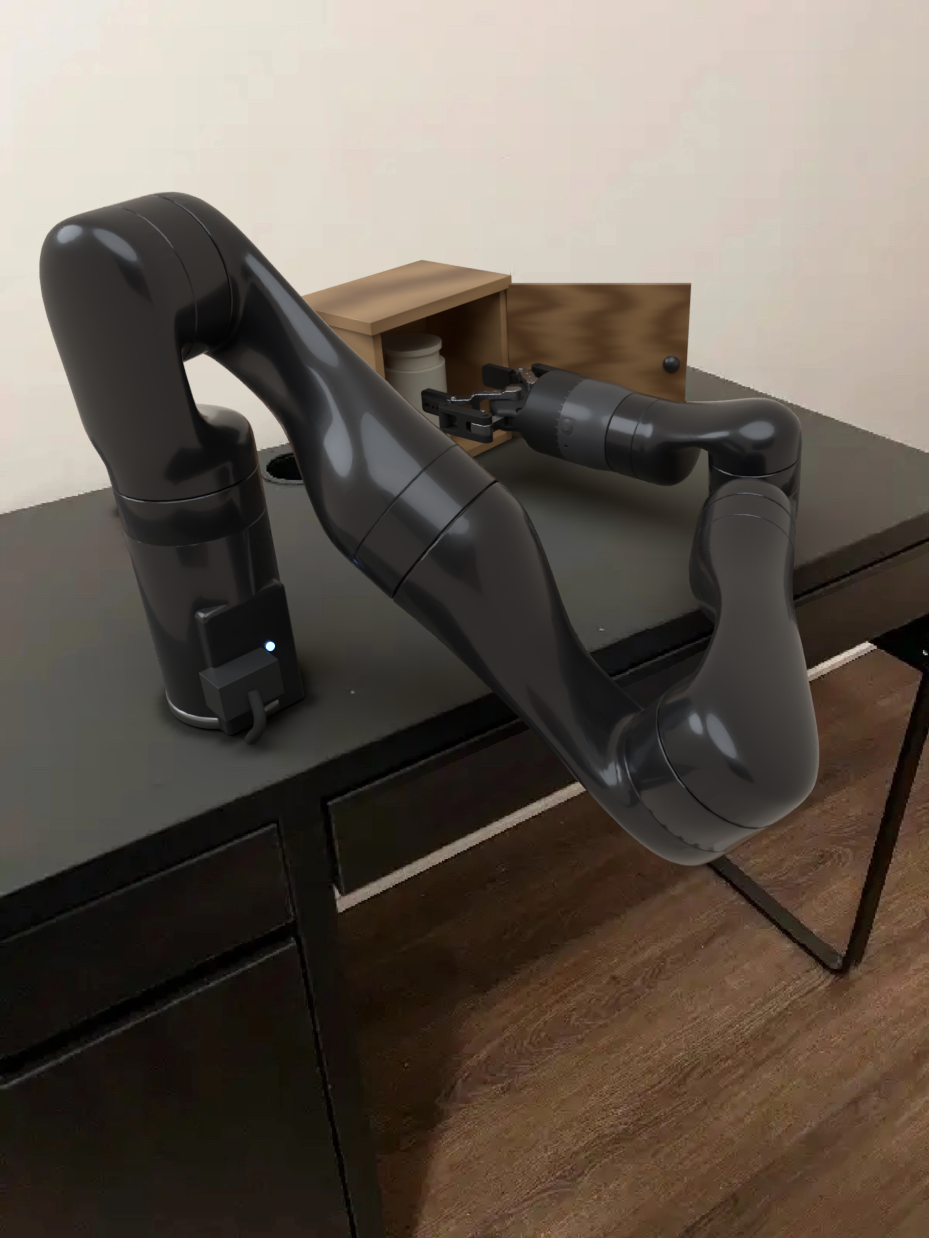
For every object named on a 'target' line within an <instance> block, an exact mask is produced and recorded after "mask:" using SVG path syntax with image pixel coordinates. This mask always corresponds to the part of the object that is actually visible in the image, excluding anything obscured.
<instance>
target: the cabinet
mask: <svg viewBox="0 0 929 1238" xmlns="http://www.w3.org/2000/svg"><path fill="white" fill-rule="evenodd" d="M512 279H513V278H512V274H508V273H507V274H506V273H501V272H496V271H490V270H484V269H478V268H472V267H466V266H461V265H454V264H450V263H449V264H448V263H443V262H437V261H431V260H425V259H420V260H417V261H413V262H410V263H407V264H403V265H400V266H397V267H394V268H390V269H387V270H383V271H380V272H376V273H373V274H370V275H367V276H364V277H360V278H356V279H353V280H350V281H347V282H344V283H340V284H337V285H334V286H330V287H327V288H324V289H321V290H317V291H314V292H310V293H307V294H304V295H300V296H301V297H302V298H303V299H304V300H305V301H306V302H307V303H308V304H309V305H310V306H311V308H312V309H313V310H314V311H315V312H316V313H317V314H318V315H319V316H320V317H321V318H322V319H323V320H324V322H325V323H326V324H327V325H328V326H329V327H330V328H331V329H332V330H333V331H334V332H335V333H336V334H337V335H338V336H339V337H340V338H341V339H342V340H343V341H344V342H345V343H347V344H348V345H349V346H350V347H351V348H352V349H353V350H354V351H355V352H356V353H357V354H358V355H359V356H360V357H362V358H363V359H364V360H365V361H366V362H367V363H368V364H369V365H370V366H371V367H372V368H374V369H375V370H376V371H377V372H378V373H379V374H380V375H381V376H382V377H383V378H384V379H385V372H384V363H383V361H385V360H386V354H384V353H383V351H382V344H381V338H383V337H386V336H393V337H394V336H398V335H404V334H412V333H424V334H432V335H436V336H438V337H440V338H441V340H442V347H441V349H440V350H439V352H440V355H441V356H443V357H444V359H445V366H446V379H447V393H448V394H452V395H455V396H457V395H472V394H473V392H474V391H475V390H495V389H494V388H490V387H486V386H484V384H483V382H482V366H483V365H485V364H488V363H491V364H495V365H499V366H503V367H507V368H511V369H514V370H515V368H518V367H525V368H527V370H530V369H531V365H532V364H535V363H541V364H545V365H549V366H553V367H556V368H560V369H564V370H567V371H571V372H575V373H578V374H580V375H582V376H586V377H590V378H594V379H598V380H603V381H607V382H611V383H616V384H619V385H622V386H625V387H627V388H629V389H632V390H634V391H637V392H640V393H644V394H648V395H652V396H656V397H660V398H665V399H670V400H673V401H681V402H686V392H687V391H686V388H687V373H688V372H687V370H688V355H689V354H688V353H689V338H690V337H689V336H690V318H691V317H690V316H691V299H692V282H512V281H513V280H512ZM543 375H544V374H543ZM488 401H489V400H482V401H481V405H482V409H483V410H485V412H487V413H489V402H488ZM460 406H463V407H467V408H471V409H472V406H471V405H460ZM451 438H452V439H453V440H454V441H455V442H456V443H458V444H459V446H461V447H462V448H463V449H464V450H466V451H467V452H468V453H469V454H470V455H471V456H472V457H473V458H475V457H476V456H478V455H480V454H482V453H484V452H486V451H488V450H491V449H493V448H495V447H497V446H499V445H501V444H503V443H505V442H507V441H509V440H511V439H513V432H506V431H503V430H500V429H499V430H497V431H495V432H493V442H492V443H488V444H484V443H480V442H476V441H472V440H469V439H465V438H461V437H457V436H454V435H451Z"/></svg>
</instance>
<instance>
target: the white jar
mask: <svg viewBox="0 0 929 1238" xmlns="http://www.w3.org/2000/svg"><path fill="white" fill-rule="evenodd" d="M381 344H382V351H383V353H384V354H386V360H385V361H383V363H384V372H385V380H386V381H387V382H388V383H389V384H391V385H392V386H393V387H394V388H395V389H396V390H397V391H398V392H399V393H400V394H401V395H402V396H403V397H404V398H405V399H406V400H407V401H409V402H410V403H411V404H412V405H413V406H414V407H415V408H416V409H417V410H418V411H420V412H421V413H422V414H423V415H424V416H425V417H426V418H428V419H429V420H430V421H431V422H432V423H433V424H435V425H436V426H437V427H438V428H440V427H439V416H436V415H433V414H429V413H426V412H424V411H423V409H422V401H421V391H422V390H425V389H427V388H430V389H434V390H438V391H441V392H445V393H447V379H446V366H445V359H444V357H443V356H441V355H440V352H439V350H440V349H441V347H442V340H441V338H440V337H438V336H436V335H432V334H424V333H412V334H404V335H398V336H394V337H393V336H386V337H383V338H381ZM447 435H448V436H449V437H451V435H450V434H447Z"/></svg>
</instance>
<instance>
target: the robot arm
mask: <svg viewBox="0 0 929 1238" xmlns="http://www.w3.org/2000/svg"><path fill="white" fill-rule="evenodd" d="M38 263H39V264H38V270H39V271H38V275H39V277H38V278H39V285H40V293H41V298H42V303H43V307H44V310H45V314H46V315H45V316H46V318H47V322H48V325H49V328H50V332H51V334H52V338H53V341H54V344H55V347H56V349H57V352H58V355H59V358H60V361H61V364H62V367H63V370H64V372H65V376H66V379H67V381H68V384H69V385H68V386H69V388H70V391H71V394H72V396H73V399H74V402H75V406H76V409H77V412H78V415H79V419H80V421H81V424H82V426H83V429H84V431H85V434H86V435H87V438H88V439H89V441H90V443H91V445H92V446H93V448H94V450H95V451H96V453H97V455H98V456H99V458H100V459H101V461H102V463H103V464H104V466H105V469H106V472H107V475H108V479H109V483H110V485H111V489H112V491H113V492H112V493H113V497H114V500H115V504H116V507H117V508H116V509H117V511H118V515H119V518H120V522H121V526H122V530H123V534H124V539H125V542H126V544H127V549H128V554H129V557H130V561H131V564H132V568H133V572H134V577H135V579H136V584H137V587H138V591H139V593H140V594H139V595H140V598H141V602H142V606H143V609H144V613H145V617H146V622H147V624H148V628H149V633H150V636H151V641H152V643H153V648H154V651H155V655H156V658H157V662H158V664H159V668H160V673H161V676H162V679H163V683H164V687H165V695H166V701H167V704H168V708H169V710H170V712H171V713H172V715H173V716H174V717H175V718H177V719H178V720H179V721H181V722H182V723H184V724H187V725H190V726H192V727H196V728H200V729H201V728H202V729H208V730H209V729H210V730H220V731H223V732H224V734H226V735H228V736H233V735H234V734H235V735H236V734H237V733H239V732H241V731H243V730H245V729H246V728H248V727H250V726H252V728H251V729H250V730H249V731H248V732H247V734H245V737H244V741H245V742H246V744H248V745H251V746H252V745H256V743H257V741H258V740H260V739H261V738H262V736H263V735H264V733H265V732H266V729H267V718H268V717H270V716H272V715H274V714H276V713H277V712H279V711H281V710H283V709H285V708H287V707H289V706H291V705H292V704H295V703H296V702H299V701H300V700H303V699H304V698H305V692H304V686H303V682H302V676H301V671H300V664H299V659H298V654H297V649H296V648H297V647H296V641H295V638H294V637H295V636H294V631H293V626H292V620H291V615H290V609H289V603H288V599H287V592H286V587H285V584H284V583H282V582H281V576H280V571H279V566H278V560H277V554H276V549H275V544H274V539H273V532H272V527H271V522H270V516H269V511H268V505H267V498H266V494H265V493H266V492H265V488H264V482H263V477H262V471H261V465H260V460H259V459H260V458H259V453H258V448H257V443H256V438H255V432H254V429H253V427H252V424H251V423H250V421H249V419H247V417H246V416H245V415H243V414H242V413H240V412H239V411H237V410H236V409H232V408H229V407H226V406H222V405H216V404H207V403H197V402H196V400H195V398H194V394H193V391H192V388H191V384H190V382H189V378H188V374H187V370H186V368H185V363H186V362H188V361H190V360H193V359H195V358H198V357H200V356H202V355H204V356H207V357H209V358H211V359H212V360H213V361H215V362H216V363H218V364H219V365H220V366H221V367H223V368H224V369H225V370H227V371H228V372H229V373H230V374H232V375H233V376H234V377H235V378H236V379H238V381H240V382H241V383H242V384H243V385H244V386H245V387H246V388H247V389H248V390H249V391H250V392H251V393H253V394H254V395H255V396H256V397H257V399H258V400H260V402H261V403H262V404H263V405H264V406H265V407H266V409H267V410H268V411H269V412H270V413H271V414H272V415H273V417H274V419H275V421H276V422H277V423H278V424H279V425H280V428H281V429H282V431H283V433H284V435H285V436H286V439H287V441H288V443H289V446H290V449H291V451H292V454H293V457H294V459H295V462H296V466H297V468H298V471H299V474H300V477H301V480H302V483H303V486H304V489H305V492H306V494H307V497H308V499H309V502H310V504H311V507H312V510H313V511H314V514H315V516H316V518H317V520H318V522H319V525H320V526H321V528H322V530H323V531H324V533H325V535H326V536H327V538H328V539H329V541H330V542H331V544H332V545H333V546H334V547H335V548H336V549H337V551H338V552H339V553H340V554H341V555H342V556H343V557H344V558H345V559H346V560H347V561H348V562H349V563H350V564H352V565H353V566H354V567H355V568H356V569H357V570H358V571H360V573H362V574H363V575H364V576H365V577H366V578H367V579H368V580H369V581H371V582H372V584H373V585H375V586H376V587H377V588H378V589H379V590H380V591H382V592H383V594H385V595H386V596H387V597H388V598H389V599H390V600H392V601H393V602H394V603H395V604H396V605H397V606H398V607H400V608H401V609H402V610H403V611H405V612H406V614H408V615H409V616H410V617H412V618H413V620H415V621H416V622H418V624H420V625H421V626H422V627H423V628H425V629H426V630H427V631H428V632H429V633H430V634H432V636H434V637H435V638H436V639H437V640H438V641H439V642H441V644H442V645H444V646H445V647H446V648H447V649H448V650H449V651H450V652H451V653H452V654H453V655H454V656H455V657H456V658H457V659H459V661H461V662H462V663H463V665H465V666H466V667H467V668H468V669H469V670H470V671H471V672H472V673H473V674H474V675H475V676H476V677H477V678H478V679H479V680H481V682H482V683H483V684H484V685H485V686H487V688H489V689H490V690H491V691H492V692H493V693H494V694H495V695H496V696H497V697H498V698H499V699H500V700H501V701H502V702H503V703H505V705H506V706H507V707H509V708H510V710H511V711H512V712H514V714H516V716H517V717H518V718H519V719H520V720H521V721H522V722H523V723H524V724H525V725H526V726H527V727H528V728H529V730H530V731H531V732H532V733H533V734H535V736H536V737H537V738H538V739H539V740H540V741H541V742H542V744H544V745H545V747H546V748H547V749H548V750H549V751H550V752H551V753H552V754H553V756H555V758H556V759H557V760H558V761H559V762H560V763H561V764H562V766H564V767H565V769H566V770H567V771H568V772H569V773H570V774H571V775H572V777H574V779H575V780H576V781H577V782H578V783H579V784H580V786H581V787H582V788H583V789H584V790H585V791H586V792H587V793H588V794H589V795H590V796H591V798H592V799H593V800H594V801H595V802H596V803H597V804H598V806H600V807H601V808H602V809H603V811H604V812H605V813H606V814H607V815H608V816H609V817H610V818H611V819H612V820H613V821H614V822H616V824H618V826H619V827H620V828H621V829H622V830H624V832H625V833H627V834H628V835H629V836H630V837H631V838H633V839H634V840H635V841H636V842H637V843H638V844H639V845H641V846H642V847H643V848H645V849H647V850H648V851H649V852H651V853H652V854H654V855H656V856H657V857H660V858H661V859H663V860H666V861H668V862H670V863H674V864H677V865H680V866H688V867H689V866H690V867H691V866H694V867H697V866H701V865H705V864H708V863H711V862H713V861H715V860H717V859H719V858H722V856H724V855H727V854H728V853H729V852H731V851H733V850H735V849H736V848H738V847H739V846H740V845H741V844H744V843H745V842H747V841H748V840H750V839H751V838H753V837H754V836H756V835H757V834H760V833H761V832H763V831H764V830H766V829H767V828H769V827H770V826H771V825H772V826H773V825H774V824H776V823H778V822H779V821H780V820H782V819H784V818H785V817H786V816H788V815H789V814H791V813H792V812H794V810H796V809H797V808H798V807H799V806H800V805H801V804H803V802H804V801H805V800H806V799H807V798H808V797H809V795H810V794H811V793H812V791H813V789H814V787H815V785H816V783H817V779H818V773H819V769H820V768H819V767H820V742H819V733H818V725H817V718H816V712H815V706H814V701H813V697H812V696H813V695H812V692H811V686H810V681H809V675H808V670H807V669H808V668H807V663H806V657H805V652H804V647H803V643H802V640H801V634H800V628H799V624H798V618H797V614H796V609H795V604H794V589H793V584H794V583H793V582H794V581H793V580H794V579H793V578H794V568H795V557H796V556H795V554H796V541H797V519H798V515H799V514H798V513H799V506H800V505H799V504H800V493H801V474H802V473H801V472H802V471H801V470H802V452H803V428H802V423H801V421H800V419H799V417H798V416H797V414H796V413H795V412H793V410H792V409H790V408H789V407H788V406H787V405H785V404H783V403H781V402H779V401H777V400H775V399H771V398H767V397H745V398H735V399H726V400H723V399H722V400H703V401H698V400H697V401H685V402H681V401H673V400H670V399H665V398H660V397H656V396H652V395H648V394H644V393H640V392H637V391H634V390H632V389H629V388H627V387H625V386H622V385H619V384H616V383H611V382H607V381H603V380H598V379H594V378H590V377H586V376H582V375H580V374H578V373H575V372H571V371H567V370H564V369H560V368H556V367H553V366H549V365H545V364H541V363H535V364H532V365H531V369H530V370H527V368H525V367H518V368H515V370H514V369H511V368H507V367H503V366H499V365H495V364H491V363H488V364H485V365H483V366H482V382H483V384H484V386H486V387H490V388H494V389H495V390H475V391H474V392H473V394H472V395H457V396H455V395H452V394H448V393H445V392H441V391H438V390H434V389H430V388H427V389H425V390H422V391H421V401H422V409H423V411H424V412H426V413H429V414H433V415H436V416H439V427H440V428H438V427H437V426H436V425H435V424H433V423H432V422H431V421H430V420H429V419H428V418H426V417H425V416H424V415H423V414H422V413H421V412H420V411H418V410H417V409H416V408H415V407H414V406H413V405H412V404H411V403H410V402H409V401H407V400H406V399H405V398H404V397H403V396H402V395H401V394H400V393H399V392H398V391H397V390H396V389H395V388H394V387H393V386H392V385H391V384H389V383H388V382H387V381H386V380H385V379H384V378H383V377H382V376H381V375H380V374H379V373H378V372H377V371H376V370H375V369H374V368H372V367H371V366H370V365H369V364H368V363H367V362H366V361H365V360H364V359H363V358H362V357H360V356H359V355H358V354H357V353H356V352H355V351H354V350H353V349H352V348H351V347H350V346H349V345H348V344H347V343H345V342H344V341H343V340H342V339H341V338H340V337H339V336H338V335H337V334H336V333H335V332H334V331H333V330H332V329H331V328H330V327H329V326H328V325H327V324H326V323H325V322H324V320H323V319H322V318H321V317H320V316H319V315H318V314H317V313H316V312H315V311H314V310H313V309H312V308H311V306H310V305H309V304H308V303H307V302H306V301H305V300H304V299H303V298H302V297H301V296H302V295H301V294H300V293H299V292H298V291H297V290H296V288H294V287H293V286H292V283H290V282H289V281H288V280H287V279H286V278H285V277H284V275H283V274H281V272H280V271H279V269H277V268H276V266H274V264H273V263H272V262H271V261H270V260H269V259H268V258H267V256H266V255H265V254H263V252H262V251H261V250H260V249H259V247H257V246H256V245H255V243H254V242H253V241H252V240H250V238H249V237H248V236H247V235H246V234H245V232H243V231H242V230H241V229H240V228H239V227H238V226H237V225H236V224H235V223H234V222H233V221H231V219H229V217H228V216H226V215H225V214H224V213H222V211H220V210H219V209H218V208H217V207H215V206H213V205H212V204H210V203H209V202H207V201H205V200H204V199H202V198H200V197H198V196H195V195H192V194H189V193H186V192H180V191H158V192H152V193H148V194H146V195H141V196H138V197H134V198H129V199H127V200H124V201H120V202H119V201H118V202H117V203H112V204H109V205H105V206H102V207H98V208H95V209H91V210H88V211H85V212H84V211H83V212H81V213H78V214H75V215H72V216H69V217H67V218H65V219H62V220H61V221H59V222H57V223H56V224H55V225H54V226H53V227H52V228H50V230H49V231H48V232H47V234H46V235H45V238H44V240H43V242H42V246H41V249H40V255H39V262H38ZM543 374H544V375H543ZM482 400H489V401H488V402H489V413H487V412H485V410H483V409H482V405H481V401H482ZM460 405H471V406H472V409H471V408H467V407H463V406H460ZM499 429H500V430H503V431H506V432H512V433H519V434H520V436H521V437H522V438H523V439H524V441H525V442H526V444H527V445H528V447H529V448H531V449H532V450H533V451H535V452H536V453H540V454H542V455H546V456H549V457H553V458H556V459H559V460H562V461H566V462H568V463H569V462H570V463H573V464H576V465H579V466H582V467H586V468H588V469H593V470H596V471H603V472H611V473H615V474H619V475H622V476H624V477H629V478H631V479H636V480H638V481H643V482H646V483H649V484H652V485H656V486H663V487H673V486H676V485H679V484H681V483H683V482H684V481H685V480H686V479H687V478H689V476H690V475H691V474H692V472H693V470H694V469H695V468H696V465H697V463H698V461H699V459H700V455H701V453H702V450H704V451H706V452H707V479H708V480H707V481H708V482H707V483H708V485H707V486H708V487H707V488H708V492H707V493H708V496H707V497H706V498H705V500H704V502H703V504H702V506H701V508H700V510H699V513H698V515H697V519H696V523H695V528H694V534H693V539H692V543H691V549H690V554H689V559H688V560H689V562H688V580H689V586H690V590H691V593H692V597H693V599H694V601H695V603H696V605H697V606H698V608H699V610H700V611H701V612H702V613H703V614H704V616H705V617H706V618H707V619H708V620H709V622H711V623H712V624H713V625H714V627H713V631H712V633H711V637H710V640H709V642H708V645H707V647H706V650H705V652H704V654H703V656H702V658H701V660H700V662H699V664H698V666H697V667H696V668H695V670H694V671H693V672H692V673H690V674H688V675H686V676H684V677H683V678H682V679H680V680H679V681H677V682H676V683H674V684H673V685H672V686H670V688H668V689H667V690H666V691H665V692H663V693H662V694H661V695H659V697H658V698H656V699H655V700H654V701H652V702H651V703H650V704H649V705H648V706H647V707H644V706H643V705H641V704H640V703H639V702H637V701H636V699H634V698H632V697H631V696H630V695H629V694H628V693H627V692H626V691H625V690H624V689H623V688H622V687H621V686H620V685H619V684H618V683H617V682H616V681H615V680H614V679H613V677H611V676H610V675H609V674H608V673H607V671H605V669H604V668H603V667H601V666H600V665H599V663H598V662H596V660H595V659H594V658H593V656H592V655H591V654H590V653H589V651H588V650H587V649H586V647H585V645H584V644H583V642H582V641H581V640H580V637H579V636H578V634H577V632H576V630H575V628H574V626H573V625H572V623H571V620H570V618H569V615H568V613H567V610H566V608H565V605H564V603H563V599H562V596H561V593H560V590H559V587H558V584H557V582H556V579H555V575H554V573H553V570H552V567H551V564H550V562H549V559H548V556H547V554H546V553H547V552H546V550H545V549H544V546H543V543H542V541H541V538H540V536H539V533H538V531H537V529H536V527H535V524H534V523H533V521H532V519H531V517H530V515H529V513H528V511H527V510H526V508H525V507H524V505H523V504H522V502H521V501H520V500H519V499H518V498H517V496H516V495H515V494H514V493H513V492H512V491H511V490H510V489H509V488H508V487H507V486H505V484H503V482H502V481H499V479H498V478H497V477H496V476H495V475H494V474H493V473H492V472H490V471H489V470H488V469H487V468H486V467H485V466H484V465H483V464H481V463H480V462H479V461H478V460H477V459H476V458H475V457H472V456H471V455H470V454H469V453H468V452H467V451H466V450H464V449H463V448H462V447H461V446H459V444H458V443H456V442H455V441H454V440H453V439H452V438H451V437H449V436H448V435H447V434H450V435H454V436H457V437H461V438H465V439H469V440H472V441H476V442H480V443H484V444H488V443H492V442H493V432H495V431H497V430H499Z"/></svg>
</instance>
